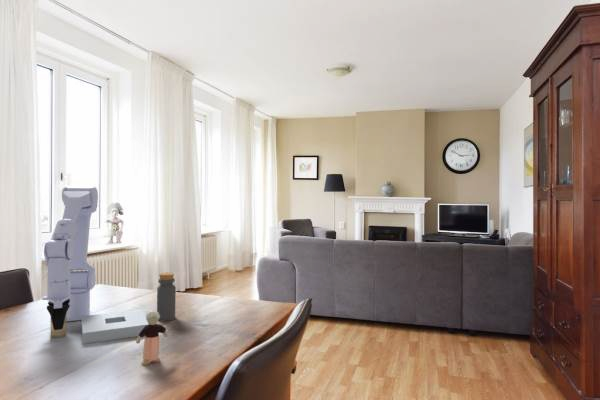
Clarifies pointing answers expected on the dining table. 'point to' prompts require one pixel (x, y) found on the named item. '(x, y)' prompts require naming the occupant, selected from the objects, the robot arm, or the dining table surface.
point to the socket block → (112, 325)
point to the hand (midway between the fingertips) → (58, 327)
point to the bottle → (166, 297)
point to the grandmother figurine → (151, 338)
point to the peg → (58, 332)
